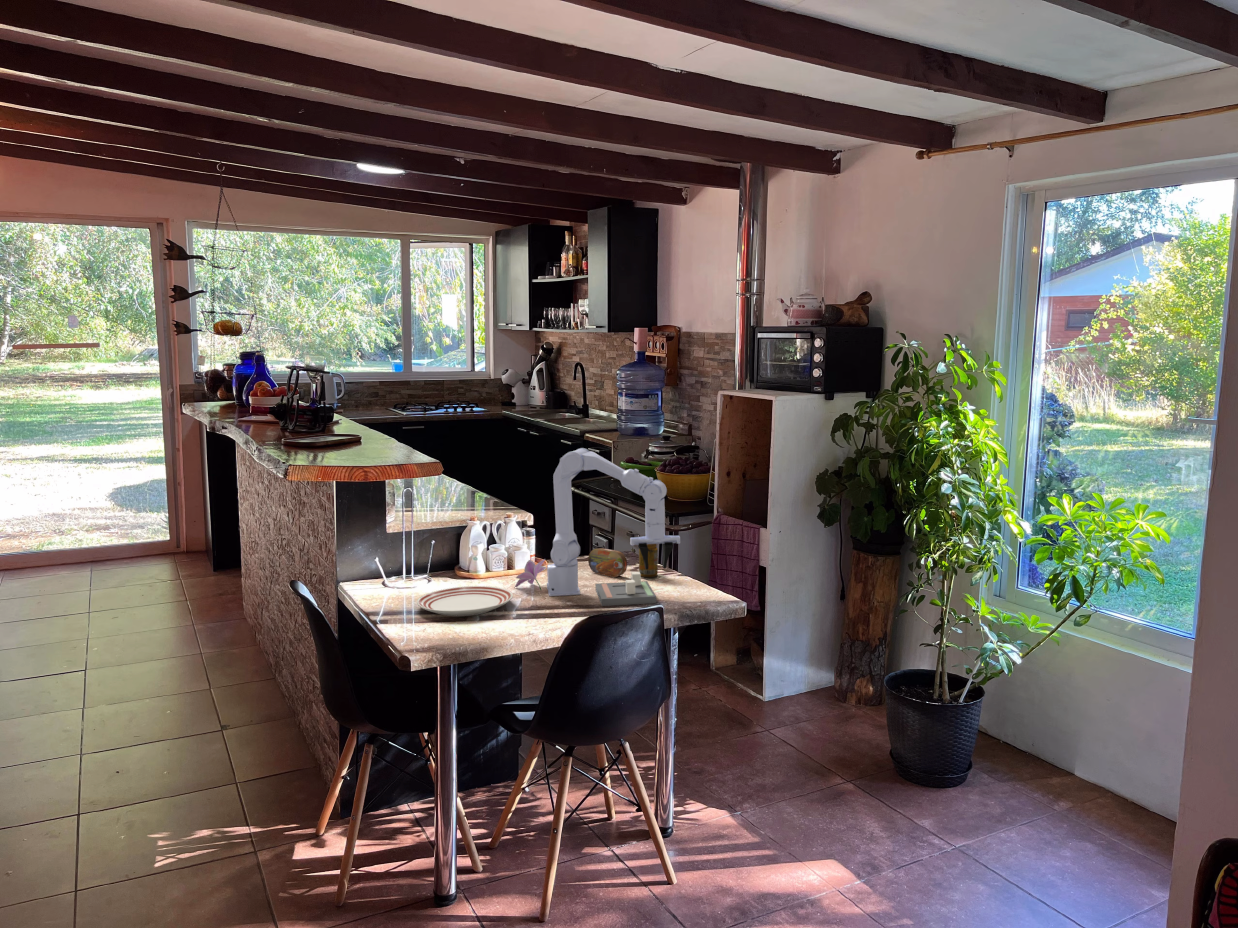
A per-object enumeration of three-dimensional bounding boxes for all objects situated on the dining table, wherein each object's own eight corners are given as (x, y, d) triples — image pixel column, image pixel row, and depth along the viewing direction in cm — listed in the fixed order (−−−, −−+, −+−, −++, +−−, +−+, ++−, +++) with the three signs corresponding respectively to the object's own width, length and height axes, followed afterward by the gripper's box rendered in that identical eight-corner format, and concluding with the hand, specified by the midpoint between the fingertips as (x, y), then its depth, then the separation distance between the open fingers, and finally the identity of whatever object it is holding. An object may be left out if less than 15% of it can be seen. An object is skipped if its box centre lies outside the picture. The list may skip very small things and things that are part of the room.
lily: (553, 585, 293) (540, 558, 294) (560, 580, 282) (546, 552, 283) (519, 601, 289) (506, 574, 290) (524, 596, 278) (511, 568, 279)
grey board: (601, 605, 266) (601, 598, 266) (595, 589, 283) (595, 583, 283) (656, 602, 269) (656, 595, 268) (647, 587, 285) (647, 580, 285)
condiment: (649, 572, 304) (649, 536, 302) (667, 577, 297) (666, 540, 296) (632, 575, 299) (632, 539, 298) (650, 581, 293) (649, 544, 291)
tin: (587, 571, 305) (587, 547, 304) (594, 570, 308) (593, 545, 306) (622, 579, 296) (622, 553, 294) (628, 577, 298) (628, 551, 297)
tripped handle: (627, 594, 270) (627, 582, 269) (625, 591, 273) (625, 580, 272) (635, 593, 270) (635, 582, 269) (633, 591, 273) (633, 579, 272)
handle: (632, 585, 279) (632, 574, 278) (631, 583, 282) (631, 571, 281) (640, 585, 279) (640, 574, 279) (639, 582, 282) (639, 571, 282)
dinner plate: (400, 606, 269) (399, 595, 269) (481, 589, 287) (480, 578, 286) (447, 628, 248) (447, 616, 248) (531, 608, 266) (531, 597, 265)
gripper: (632, 526, 264) (633, 572, 266) (682, 524, 266) (682, 570, 268) (628, 521, 271) (629, 566, 273) (677, 519, 273) (677, 564, 275)
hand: (655, 567), depth 271 cm, fingers open, 5 cm apart
